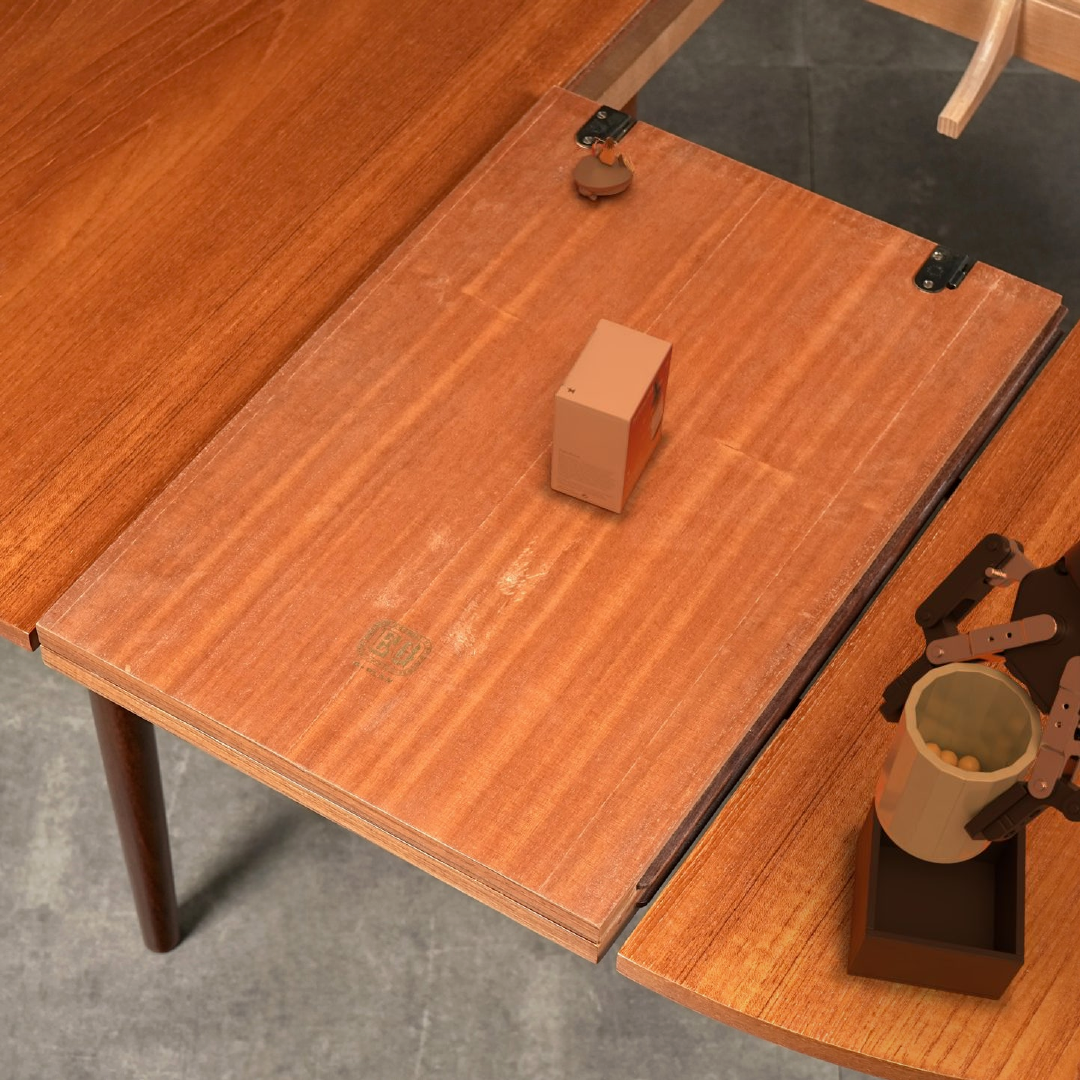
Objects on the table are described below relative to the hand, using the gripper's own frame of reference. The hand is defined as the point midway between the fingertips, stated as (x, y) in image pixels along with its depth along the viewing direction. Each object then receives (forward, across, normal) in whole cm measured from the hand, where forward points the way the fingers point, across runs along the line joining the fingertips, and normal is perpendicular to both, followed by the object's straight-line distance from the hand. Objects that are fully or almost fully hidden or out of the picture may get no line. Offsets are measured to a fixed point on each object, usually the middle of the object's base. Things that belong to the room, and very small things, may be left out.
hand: (931, 774), depth 83 cm
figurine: (+3, -64, +30) cm, 71 cm away
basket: (+13, 0, +20) cm, 24 cm away
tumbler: (+2, 0, +4) cm, 5 cm away
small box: (+13, -39, +20) cm, 46 cm away
